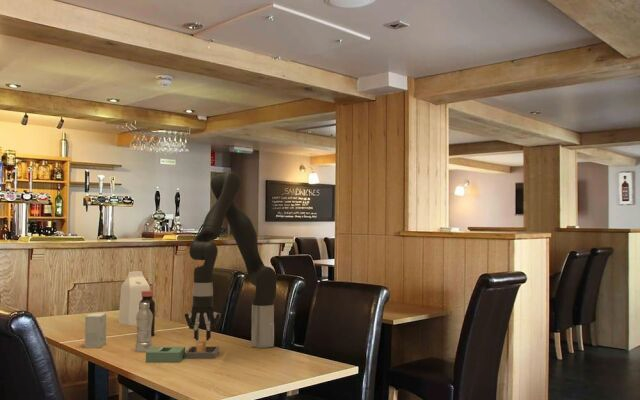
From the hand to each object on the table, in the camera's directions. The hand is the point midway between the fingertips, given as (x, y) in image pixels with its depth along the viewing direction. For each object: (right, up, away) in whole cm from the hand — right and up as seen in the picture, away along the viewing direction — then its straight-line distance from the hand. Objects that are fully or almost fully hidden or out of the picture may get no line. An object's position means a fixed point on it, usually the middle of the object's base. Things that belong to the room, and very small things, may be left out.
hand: (202, 339), depth 229 cm
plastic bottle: (-24, -7, +7) cm, 26 cm away
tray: (0, -7, 0) cm, 7 cm away
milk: (-50, -10, +79) cm, 94 cm away
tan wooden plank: (0, -3, -5) cm, 6 cm away
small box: (-48, -8, +22) cm, 54 cm away
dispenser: (-12, -7, -8) cm, 16 cm away
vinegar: (-34, -9, +45) cm, 57 cm away
